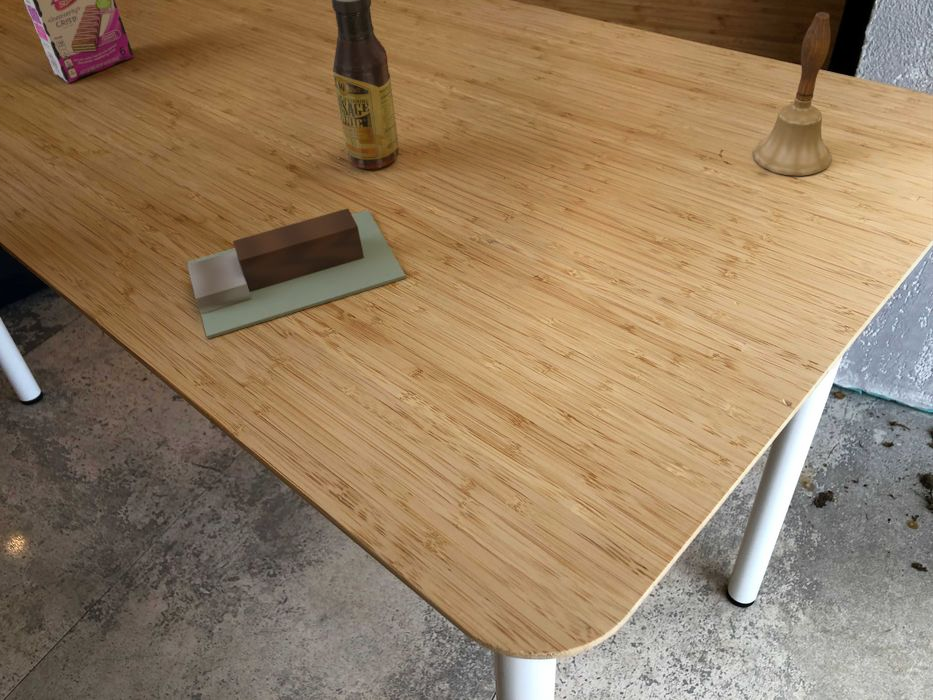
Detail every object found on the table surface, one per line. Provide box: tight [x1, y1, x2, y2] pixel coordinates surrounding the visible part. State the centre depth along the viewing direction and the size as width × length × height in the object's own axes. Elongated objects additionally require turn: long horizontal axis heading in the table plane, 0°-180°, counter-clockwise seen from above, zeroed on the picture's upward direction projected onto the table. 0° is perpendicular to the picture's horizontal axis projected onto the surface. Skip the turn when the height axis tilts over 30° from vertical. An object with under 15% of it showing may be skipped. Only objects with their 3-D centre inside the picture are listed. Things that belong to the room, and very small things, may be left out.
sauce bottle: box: [331, 0, 399, 171], centre depth 95 cm, size 7×6×20 cm
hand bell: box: [752, 11, 833, 177], centre depth 90 cm, size 8×8×16 cm
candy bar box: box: [23, 0, 135, 84], centre depth 123 cm, size 11×5×16 cm, turn 134°
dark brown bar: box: [186, 208, 364, 314], centre depth 85 cm, size 17×6×4 cm, turn 112°
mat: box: [187, 209, 407, 340], centre depth 87 cm, size 20×13×1 cm, turn 112°
